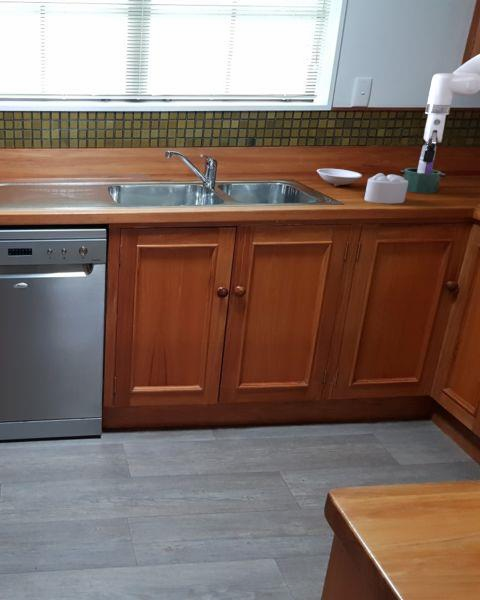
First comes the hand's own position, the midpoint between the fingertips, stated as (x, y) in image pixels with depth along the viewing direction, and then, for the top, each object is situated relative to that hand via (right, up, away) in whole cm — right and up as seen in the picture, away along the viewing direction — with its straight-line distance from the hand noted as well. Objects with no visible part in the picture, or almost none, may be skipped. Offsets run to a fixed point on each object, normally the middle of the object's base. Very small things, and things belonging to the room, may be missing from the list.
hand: (426, 160), depth 226 cm
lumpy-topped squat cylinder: (-22, -17, -12) cm, 30 cm away
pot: (-1, -10, +4) cm, 11 cm away
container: (0, -9, +4) cm, 10 cm away
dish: (-30, -8, +10) cm, 32 cm away
